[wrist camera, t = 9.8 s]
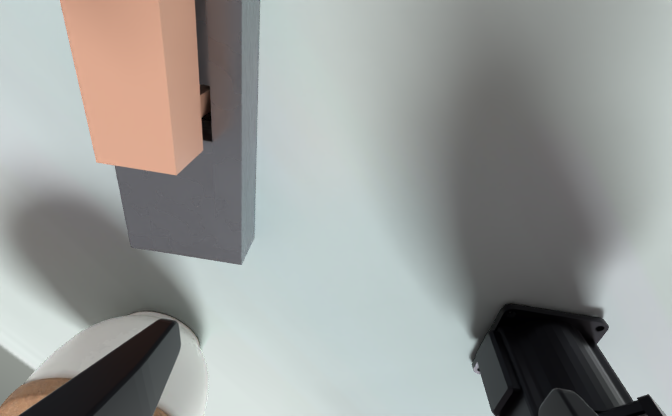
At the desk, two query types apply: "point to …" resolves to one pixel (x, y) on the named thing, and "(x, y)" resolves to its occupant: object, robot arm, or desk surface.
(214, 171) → the rail
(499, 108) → the desk surface
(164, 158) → the peach rectangular block
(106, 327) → the lidded jar
